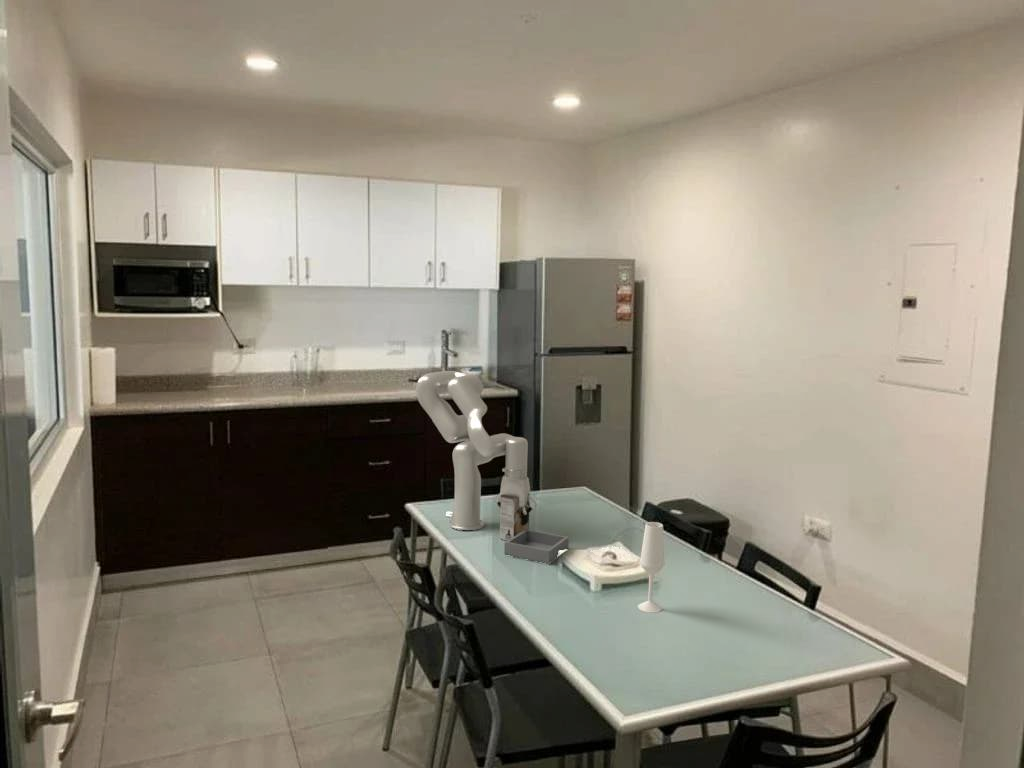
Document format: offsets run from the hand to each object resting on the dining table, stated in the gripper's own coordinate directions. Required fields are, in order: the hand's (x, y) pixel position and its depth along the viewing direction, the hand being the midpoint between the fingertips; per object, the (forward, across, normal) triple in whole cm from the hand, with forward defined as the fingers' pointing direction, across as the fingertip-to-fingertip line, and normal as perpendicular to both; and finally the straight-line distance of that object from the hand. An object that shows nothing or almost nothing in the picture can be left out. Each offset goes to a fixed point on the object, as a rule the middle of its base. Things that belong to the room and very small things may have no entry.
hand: (514, 522), depth 270 cm
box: (+6, +13, -9) cm, 17 cm away
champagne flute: (+6, +59, -32) cm, 67 cm away
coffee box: (+6, 0, 0) cm, 6 cm away
